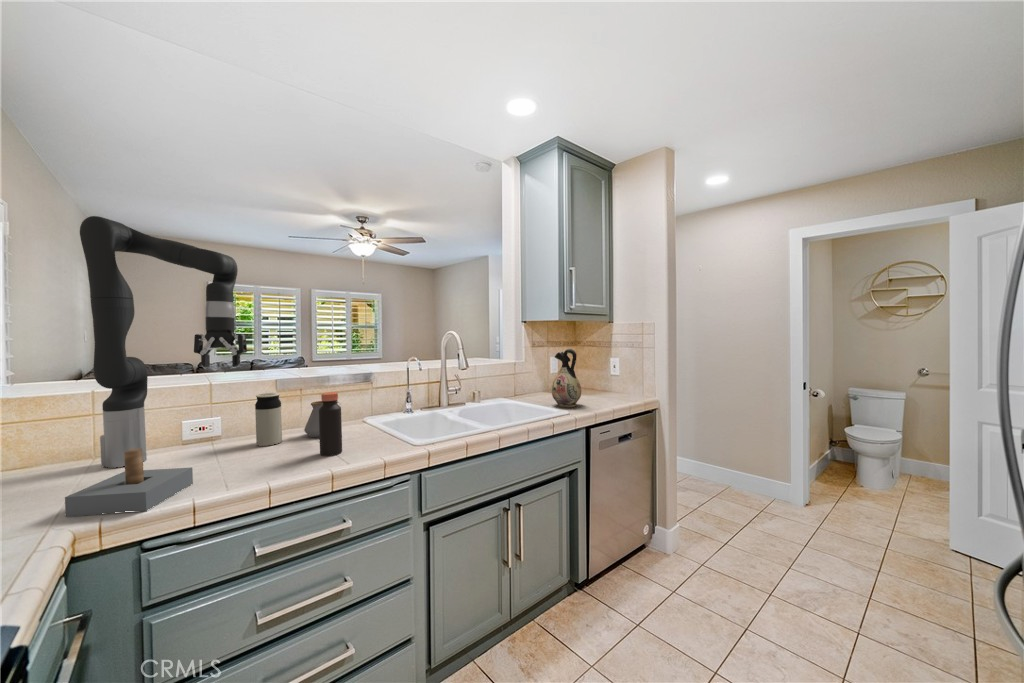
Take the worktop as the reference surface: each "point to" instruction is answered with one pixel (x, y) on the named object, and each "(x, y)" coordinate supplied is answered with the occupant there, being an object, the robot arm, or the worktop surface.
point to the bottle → (330, 425)
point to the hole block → (128, 492)
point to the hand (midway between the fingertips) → (221, 366)
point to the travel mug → (268, 419)
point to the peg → (134, 466)
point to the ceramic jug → (566, 382)
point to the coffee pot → (314, 420)
